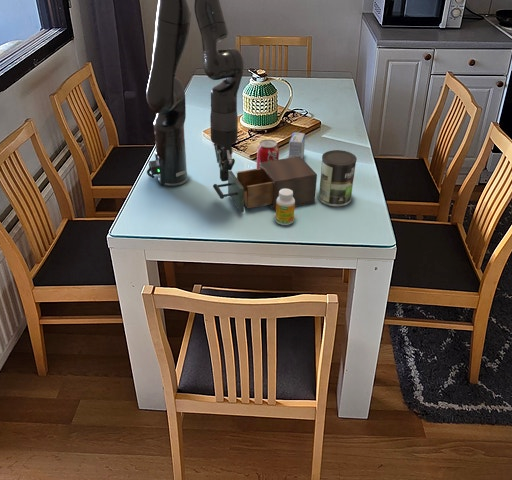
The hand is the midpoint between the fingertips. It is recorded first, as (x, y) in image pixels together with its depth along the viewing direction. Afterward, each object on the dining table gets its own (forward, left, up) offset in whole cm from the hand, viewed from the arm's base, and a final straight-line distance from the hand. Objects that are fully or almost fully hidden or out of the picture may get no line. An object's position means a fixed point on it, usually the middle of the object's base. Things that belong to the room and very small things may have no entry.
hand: (224, 179), depth 169 cm
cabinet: (+20, 0, -9) cm, 22 cm away
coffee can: (+34, -6, -10) cm, 36 cm away
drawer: (+6, 0, -8) cm, 11 cm away
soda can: (+19, +14, -10) cm, 26 cm away
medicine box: (+33, +22, -10) cm, 41 cm away
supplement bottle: (+14, -13, -10) cm, 22 cm away
